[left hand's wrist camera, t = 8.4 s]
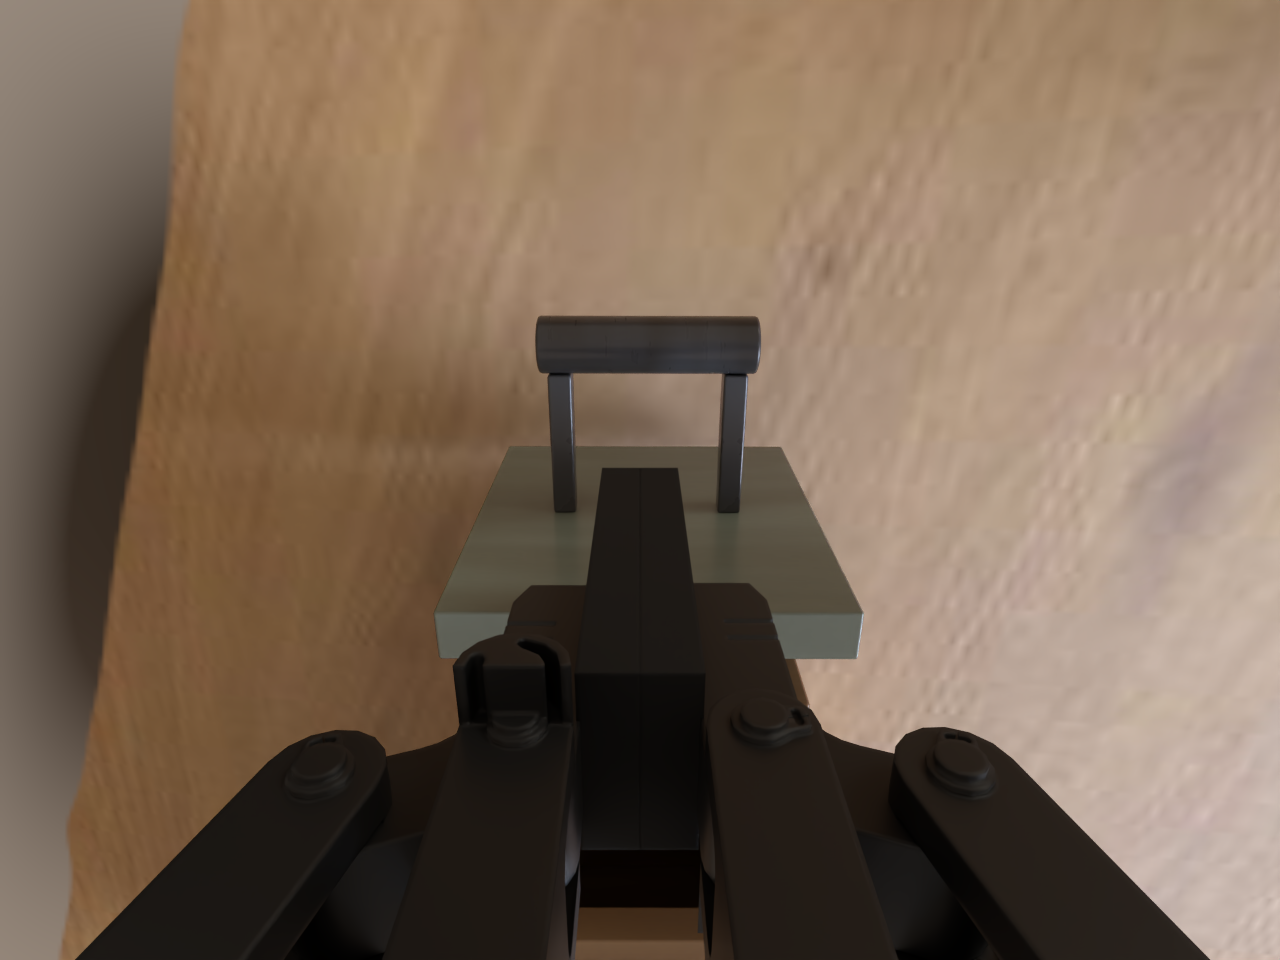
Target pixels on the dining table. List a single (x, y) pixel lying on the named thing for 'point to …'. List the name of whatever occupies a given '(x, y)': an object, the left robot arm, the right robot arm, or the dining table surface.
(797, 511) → the drawer
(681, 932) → the cabinet
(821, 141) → the dining table surface
